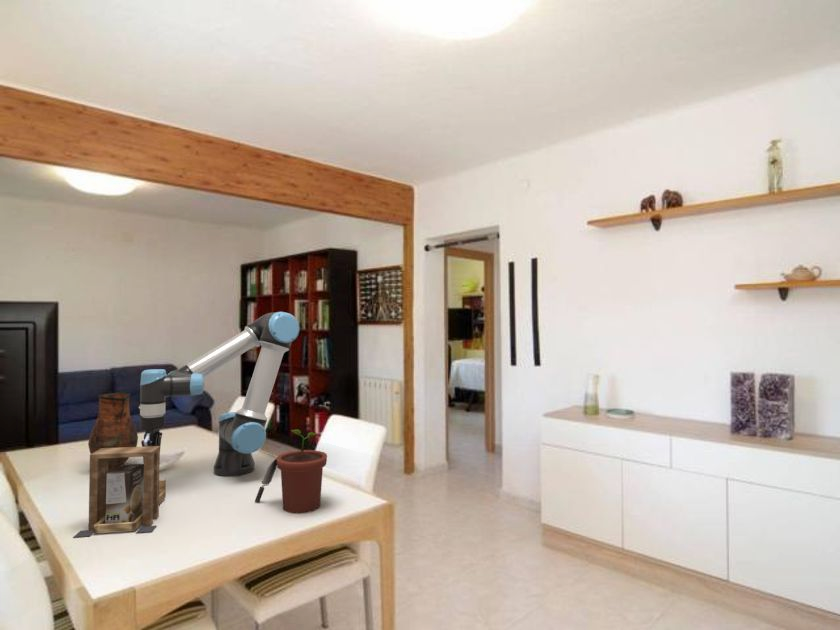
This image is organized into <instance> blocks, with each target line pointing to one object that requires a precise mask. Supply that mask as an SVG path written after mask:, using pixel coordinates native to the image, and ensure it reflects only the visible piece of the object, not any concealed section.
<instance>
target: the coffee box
mask: <svg viewBox="0 0 840 630" xmlns="http://www.w3.org/2000/svg"><path fill="white" fill-rule="evenodd" d="M143 492H144V463H128V464H127V463H124V464H123V465H121V466H119V467H117V468H115V469H113V470H111V471H109V472H107V479H106V515H105V524H110V523H125V522H134V521H135V520H136V519H137V517H138V516H139V515H140V514H141V513H142V512H143Z"/></svg>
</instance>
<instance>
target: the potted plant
mask: <svg viewBox="0 0 840 630" xmlns="http://www.w3.org/2000/svg"><path fill="white" fill-rule="evenodd" d="M290 431H291V432H292V433H293V434H295V435H297V436H300V437H301V438H302V443H301V450H293V451H288V452H287V451H286V452H283V453H281V454H279V455H278V456H276V457H275V458H274V459H272V461H270V463H269V464H268V466H267V467H266V469H265V472H264V475H263V477H262V481H261V484H262V486H260V487H259V489H258V491H257V494H256V496H255V500H254V502H255V503H260V501H261V499H262V496H263V493H264V491H265V487H267V486H269V485H270V483H271V482H272V480H273V477H274V475H275V472H276V470H277V469H278V470H280V478H281V496H282V497H281V499H282V510H283V511H284V512H286V513H289V514H306V513H307V514H308V513H311V512H314V511H316V510H317V509H319V508H320V506H321V499H322V497H321V495H322V484H323V470H324V469H323V468H324V467H325V466H326V465H327V459H328V454H327V453H326V452H324V451H320V450H314V449H304V446H305V445H304V444H305V440H306V439H308V438H311V437H313V436H317V433H314V432H311V431H310V432H309V433H308V434H307V436H306V437H304V436H303V435H301V433H302V432H301V430H300V429H292V430H290Z"/></svg>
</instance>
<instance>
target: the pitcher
mask: <svg viewBox="0 0 840 630" xmlns="http://www.w3.org/2000/svg"><path fill="white" fill-rule="evenodd" d="M130 396H131V393H129V392H109V393H104V394H99V395H98V396H97V397H98V401H99V402H98V413H97V418H96V421H95V423H94V426H93V427H92V429H91V431H90V433H89V434H90V435H89V439H88V450H89V453H90V454H92V453H94V452H95V451H97V450H99V449H101V448H122V447H138V439H139V436H138V430H137V428H136V426H135V423H134V421H133V418H132V417H131V412H130V399H131V397H130ZM129 458H130V457H123V458H108V472H109V471H111V470H113V469H115V468H117V467H119V466H121V465H123V464H126V462H127V461H128V460H129Z"/></svg>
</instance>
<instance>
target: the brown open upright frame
mask: <svg viewBox="0 0 840 630" xmlns="http://www.w3.org/2000/svg"><path fill="white" fill-rule="evenodd" d="M123 457H129V458H141V457H142V458H143V457H144V462H143V464H144V492H143V523H142V526H153V524H154V520H157V519H158V518H159V517H160V513H159V512H160V504H159V480H160V464H161V463H160V458H161V446H148V447H142V446H137V447H122V448H101V449H99V450H97V451H95V452H94V453H92V454H91V453H90V454H89V481H88V482H89V486H88V487H89V488H88V489H89V492H88V494H89V495H88V530H93V528H94V525H95V524H96V523H97V522H99V521H100V520H101V519H102V518H103V517H104V516H105V515H106V479H107V472H108V458H123Z"/></svg>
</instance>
